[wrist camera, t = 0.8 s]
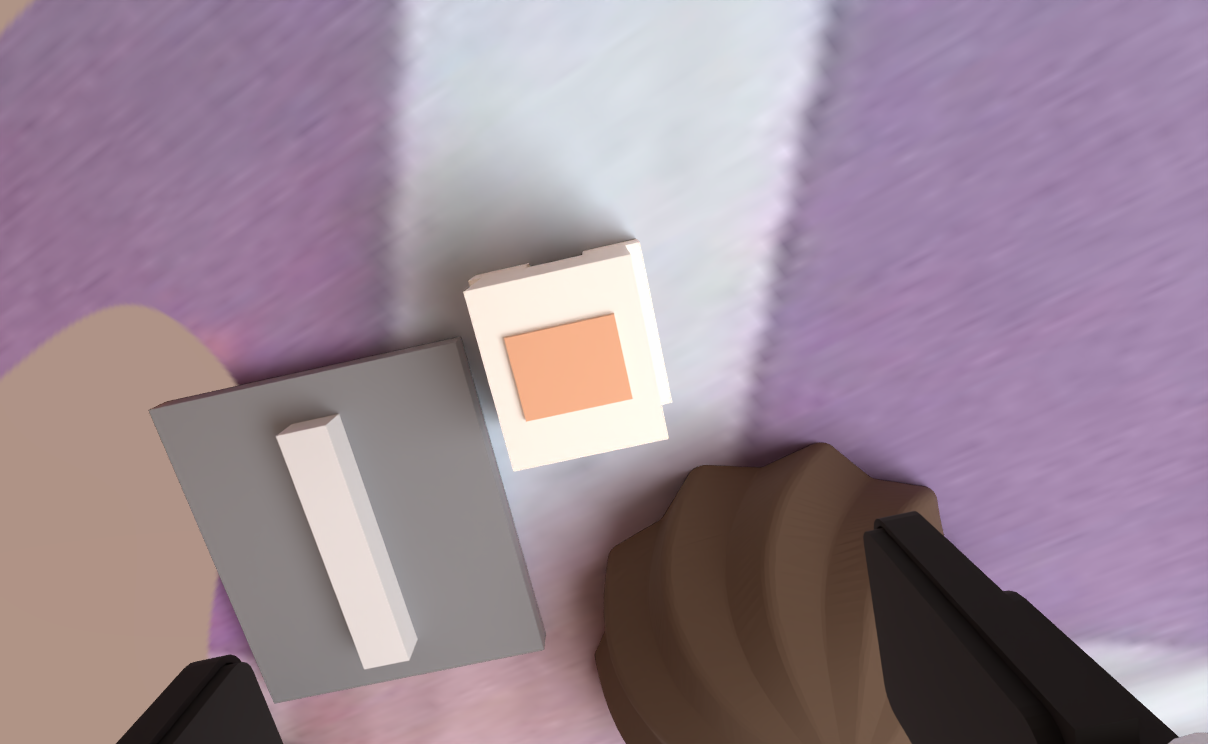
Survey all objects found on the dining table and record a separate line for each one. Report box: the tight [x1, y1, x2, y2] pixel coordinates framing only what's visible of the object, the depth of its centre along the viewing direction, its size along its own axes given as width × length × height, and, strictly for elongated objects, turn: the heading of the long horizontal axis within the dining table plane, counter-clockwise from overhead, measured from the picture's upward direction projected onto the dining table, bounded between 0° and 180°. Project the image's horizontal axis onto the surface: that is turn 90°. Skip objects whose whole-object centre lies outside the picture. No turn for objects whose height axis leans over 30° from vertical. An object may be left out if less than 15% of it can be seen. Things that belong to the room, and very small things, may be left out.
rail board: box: [149, 337, 546, 704], centre depth 30 cm, size 16×14×3 cm
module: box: [463, 239, 672, 472], centre depth 27 cm, size 7×7×6 cm
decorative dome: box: [595, 443, 944, 744], centre depth 29 cm, size 19×20×10 cm
